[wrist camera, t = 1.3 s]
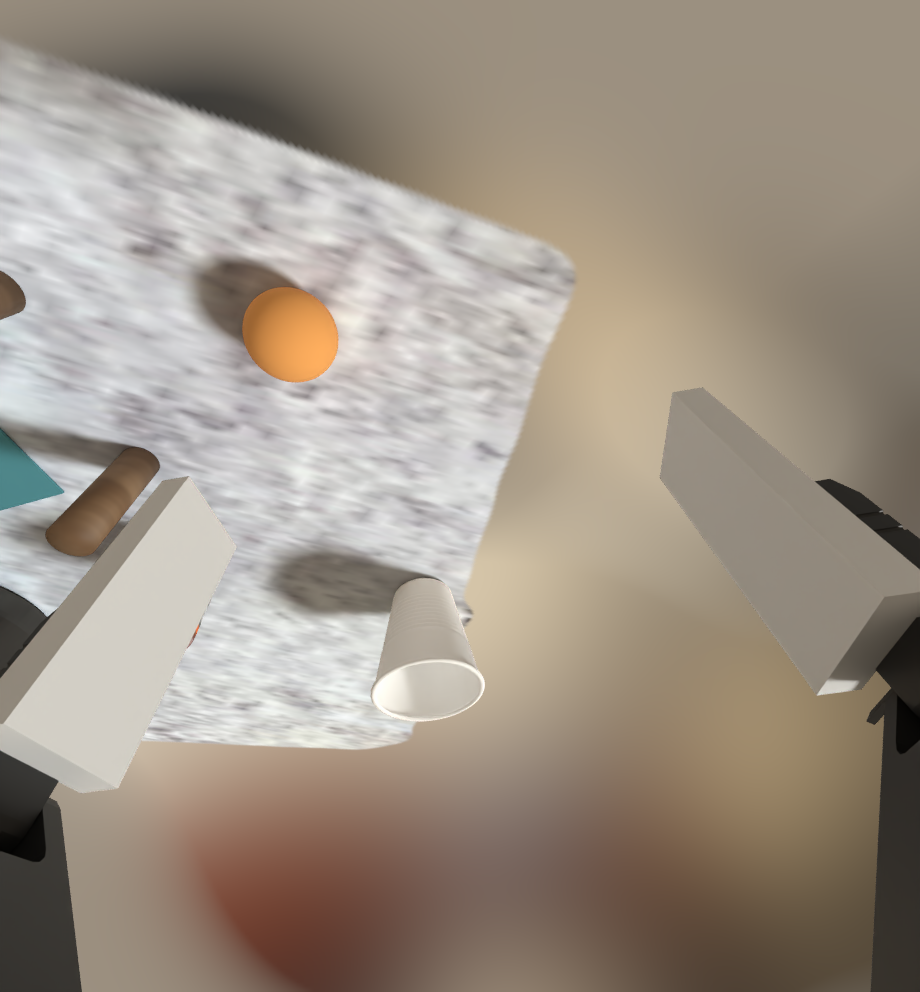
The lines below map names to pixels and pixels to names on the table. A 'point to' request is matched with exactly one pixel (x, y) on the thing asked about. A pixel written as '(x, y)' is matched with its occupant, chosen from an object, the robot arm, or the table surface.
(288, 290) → the ball
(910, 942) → the robot arm
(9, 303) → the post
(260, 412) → the table surface
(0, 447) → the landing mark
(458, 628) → the cup
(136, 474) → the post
